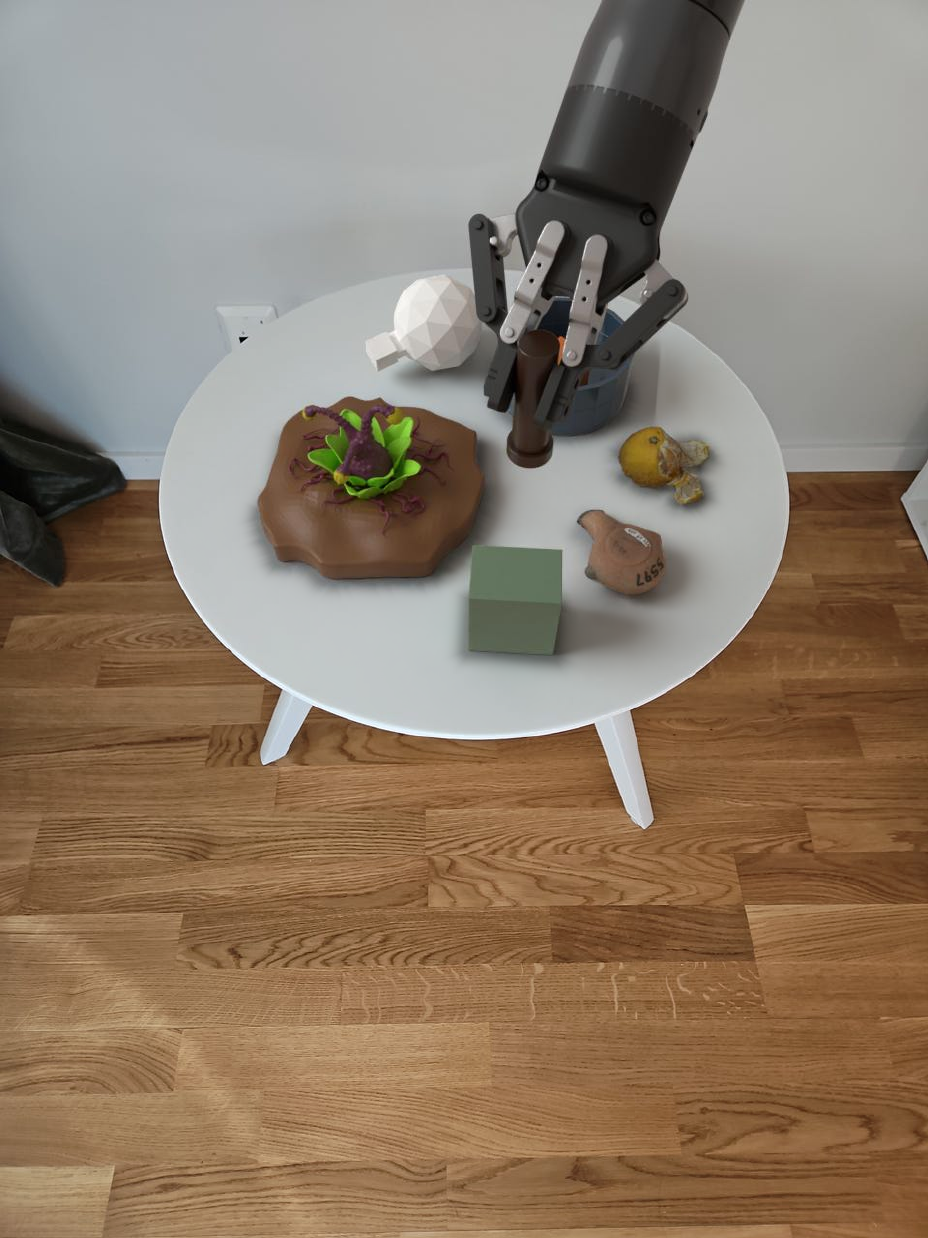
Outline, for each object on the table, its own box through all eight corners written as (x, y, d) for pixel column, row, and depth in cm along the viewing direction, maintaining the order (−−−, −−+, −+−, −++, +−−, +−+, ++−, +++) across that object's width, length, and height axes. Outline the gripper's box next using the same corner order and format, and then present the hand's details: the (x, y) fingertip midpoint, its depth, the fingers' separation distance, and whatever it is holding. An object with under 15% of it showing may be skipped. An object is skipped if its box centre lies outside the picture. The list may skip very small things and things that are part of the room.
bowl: (623, 347, 93) (632, 299, 88) (626, 439, 86) (637, 393, 81) (501, 342, 93) (503, 294, 88) (495, 432, 87) (497, 386, 82)
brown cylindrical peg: (552, 434, 59) (565, 326, 52) (552, 469, 58) (565, 363, 50) (507, 433, 59) (513, 323, 52) (505, 467, 58) (511, 360, 50)
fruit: (701, 511, 82) (710, 485, 79) (610, 495, 83) (616, 468, 80) (709, 444, 86) (718, 417, 83) (622, 429, 87) (628, 402, 84)
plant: (461, 599, 77) (461, 518, 67) (241, 567, 79) (210, 483, 69) (497, 427, 87) (501, 336, 78) (301, 402, 89) (281, 310, 79)
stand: (553, 604, 77) (562, 549, 70) (552, 655, 74) (562, 603, 67) (471, 599, 77) (472, 544, 70) (468, 650, 74) (468, 598, 67)
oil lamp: (664, 533, 82) (576, 521, 82) (672, 501, 78) (581, 489, 79) (660, 608, 76) (565, 594, 77) (669, 576, 73) (570, 563, 74)
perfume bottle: (456, 294, 94) (354, 342, 93) (459, 240, 85) (346, 293, 84) (496, 361, 93) (394, 412, 91) (504, 314, 84) (390, 369, 82)
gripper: (496, 48, 47) (392, 374, 52) (753, 121, 43) (615, 462, 48) (534, 102, 54) (439, 384, 59) (758, 167, 50) (637, 461, 55)
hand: (519, 417), depth 53 cm, fingers closed on brown cylindrical peg, 2 cm apart
